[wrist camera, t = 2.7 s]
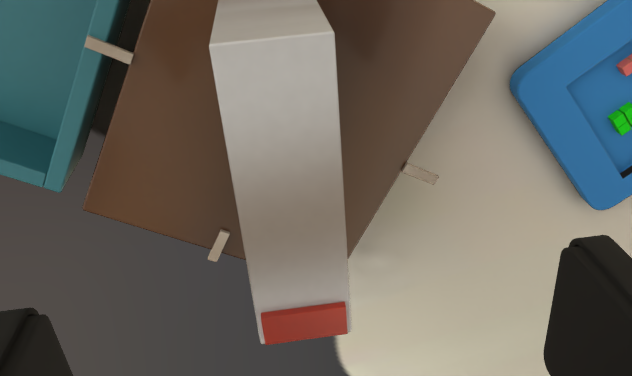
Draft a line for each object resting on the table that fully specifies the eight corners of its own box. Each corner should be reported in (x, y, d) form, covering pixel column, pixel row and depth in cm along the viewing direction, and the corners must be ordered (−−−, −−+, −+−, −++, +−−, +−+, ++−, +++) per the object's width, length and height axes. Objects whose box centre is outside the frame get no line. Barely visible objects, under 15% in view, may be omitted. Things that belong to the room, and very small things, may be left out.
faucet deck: (63, 166, 22) (37, 208, 19) (166, -179, 17) (151, -188, 14) (345, 258, 26) (357, 304, 23) (500, 1, 21) (538, 21, 18)
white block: (219, -11, 16) (207, 47, 11) (306, -20, 17) (336, 34, 11) (256, 226, 21) (260, 351, 15) (325, 217, 21) (353, 338, 15)
